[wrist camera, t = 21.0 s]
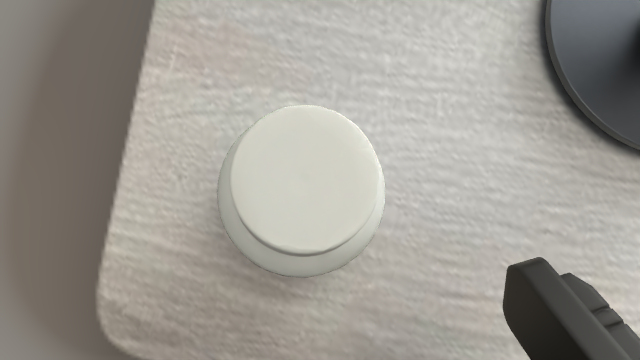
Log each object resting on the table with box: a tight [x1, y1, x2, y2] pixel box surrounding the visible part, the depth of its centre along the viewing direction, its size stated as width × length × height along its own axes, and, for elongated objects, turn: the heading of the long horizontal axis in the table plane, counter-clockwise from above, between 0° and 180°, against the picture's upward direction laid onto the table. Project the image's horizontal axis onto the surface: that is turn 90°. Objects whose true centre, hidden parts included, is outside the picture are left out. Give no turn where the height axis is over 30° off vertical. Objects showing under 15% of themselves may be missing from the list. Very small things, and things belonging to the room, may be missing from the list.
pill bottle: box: [217, 105, 385, 278], centre depth 18 cm, size 5×5×10 cm
